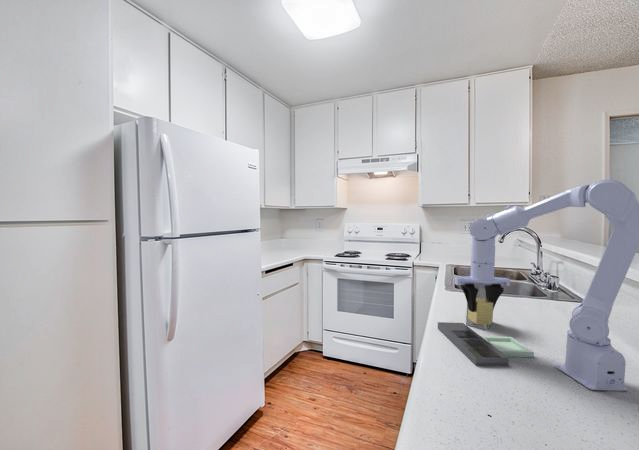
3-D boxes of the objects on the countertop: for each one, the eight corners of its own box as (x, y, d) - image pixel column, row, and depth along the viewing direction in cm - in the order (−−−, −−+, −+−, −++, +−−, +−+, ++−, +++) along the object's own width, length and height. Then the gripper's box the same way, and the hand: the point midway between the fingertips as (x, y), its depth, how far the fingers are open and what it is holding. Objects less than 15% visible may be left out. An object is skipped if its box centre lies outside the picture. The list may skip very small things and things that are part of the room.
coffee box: (471, 317, 103) (473, 272, 102) (492, 322, 99) (495, 275, 98) (465, 324, 96) (467, 276, 95) (487, 330, 92) (490, 279, 91)
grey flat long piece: (508, 365, 70) (508, 357, 70) (475, 365, 70) (475, 356, 70) (462, 329, 92) (463, 322, 92) (437, 328, 92) (437, 321, 92)
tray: (533, 357, 75) (534, 352, 75) (498, 356, 75) (499, 351, 74) (510, 341, 84) (510, 336, 84) (479, 341, 84) (479, 336, 83)
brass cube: (492, 324, 79) (493, 302, 79) (476, 324, 79) (477, 302, 79) (483, 318, 84) (483, 297, 83) (467, 318, 83) (468, 297, 83)
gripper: (499, 260, 85) (497, 306, 85) (449, 259, 84) (448, 305, 85) (516, 264, 78) (513, 315, 78) (462, 263, 77) (460, 314, 78)
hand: (480, 310), depth 81 cm, fingers closed on brass cube, 4 cm apart
